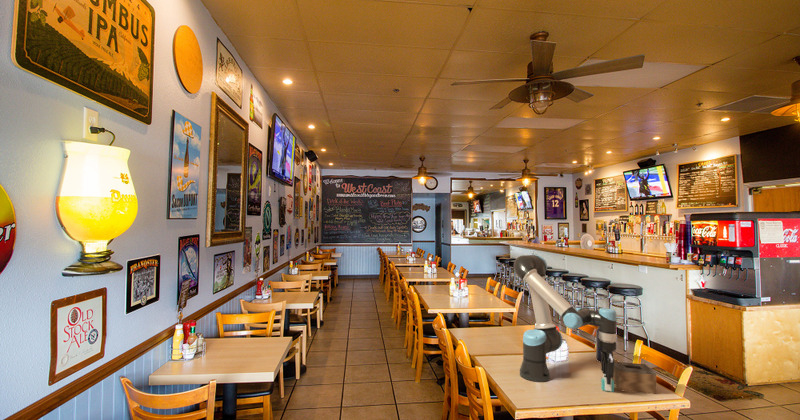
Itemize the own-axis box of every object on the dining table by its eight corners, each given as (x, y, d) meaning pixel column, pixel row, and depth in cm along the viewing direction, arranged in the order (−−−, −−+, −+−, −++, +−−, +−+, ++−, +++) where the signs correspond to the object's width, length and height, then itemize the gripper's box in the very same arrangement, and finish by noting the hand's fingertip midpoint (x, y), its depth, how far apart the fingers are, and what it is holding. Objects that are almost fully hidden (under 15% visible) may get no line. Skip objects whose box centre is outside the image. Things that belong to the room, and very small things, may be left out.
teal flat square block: (602, 390, 179) (602, 380, 179) (601, 388, 181) (601, 378, 181) (614, 391, 178) (614, 381, 178) (612, 389, 180) (612, 379, 180)
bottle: (613, 360, 223) (613, 310, 225) (612, 364, 215) (612, 313, 217) (596, 357, 228) (596, 308, 229) (595, 361, 220) (594, 311, 222)
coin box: (619, 390, 180) (619, 369, 180) (611, 380, 192) (611, 361, 192) (656, 394, 176) (656, 373, 177) (645, 384, 188) (645, 364, 189)
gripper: (621, 346, 172) (621, 397, 171) (610, 336, 187) (610, 383, 186) (604, 344, 174) (603, 394, 173) (594, 335, 189) (594, 381, 188)
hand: (607, 389), depth 180 cm, fingers closed on teal flat square block, 2 cm apart
